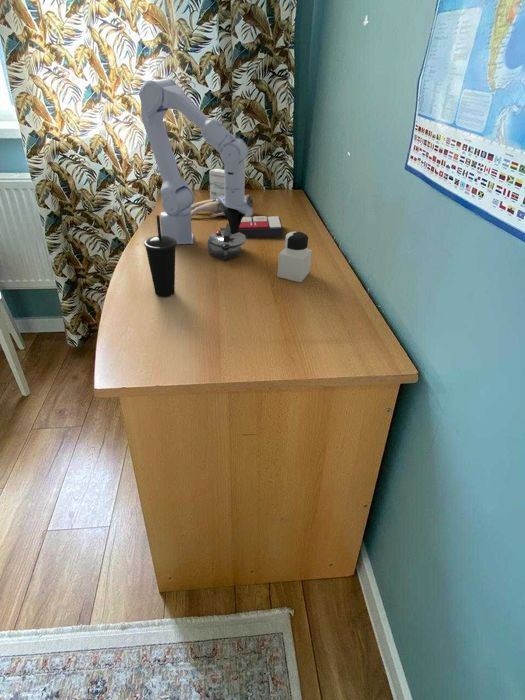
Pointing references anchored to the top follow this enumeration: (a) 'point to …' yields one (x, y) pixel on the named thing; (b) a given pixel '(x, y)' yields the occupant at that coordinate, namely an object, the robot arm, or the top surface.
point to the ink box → (216, 183)
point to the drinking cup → (162, 262)
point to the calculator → (261, 227)
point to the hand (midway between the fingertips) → (234, 233)
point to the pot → (223, 250)
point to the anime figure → (215, 206)
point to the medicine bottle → (295, 257)
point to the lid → (227, 238)
